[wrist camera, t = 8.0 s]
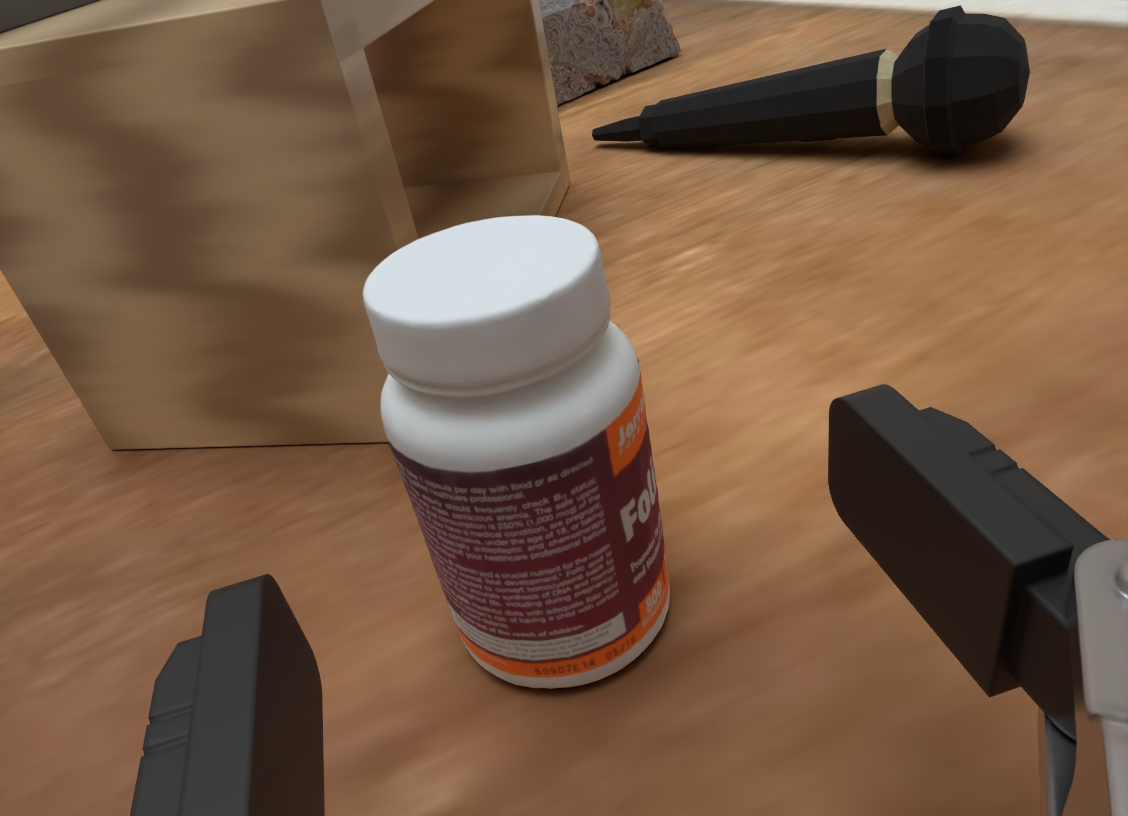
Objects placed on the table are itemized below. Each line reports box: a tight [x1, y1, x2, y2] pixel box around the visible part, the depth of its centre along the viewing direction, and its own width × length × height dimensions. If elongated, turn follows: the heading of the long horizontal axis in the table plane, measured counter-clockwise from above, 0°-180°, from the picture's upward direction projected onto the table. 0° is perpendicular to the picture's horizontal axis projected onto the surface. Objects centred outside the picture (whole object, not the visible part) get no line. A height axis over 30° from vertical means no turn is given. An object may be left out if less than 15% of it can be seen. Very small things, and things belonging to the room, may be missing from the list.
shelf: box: [0, 0, 570, 450], centre depth 30 cm, size 12×20×14 cm, turn 170°
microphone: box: [592, 6, 1030, 157], centre depth 38 cm, size 6×6×20 cm
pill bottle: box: [363, 215, 670, 689], centre depth 16 cm, size 5×5×8 cm
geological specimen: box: [539, 0, 681, 106], centre depth 56 cm, size 11×6×15 cm
